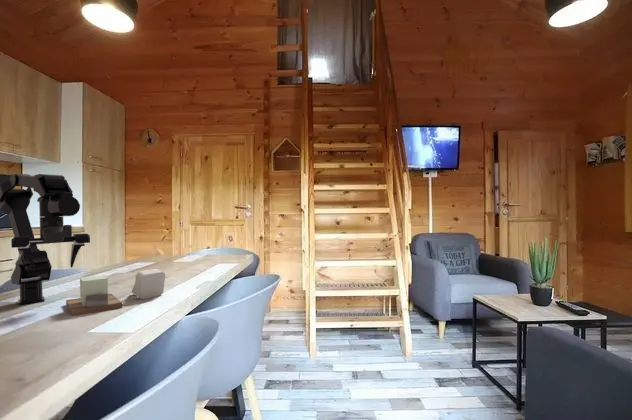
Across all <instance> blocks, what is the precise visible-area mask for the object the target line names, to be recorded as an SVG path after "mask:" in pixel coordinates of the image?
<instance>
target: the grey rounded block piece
mask: <svg viewBox="0 0 632 420" xmlns="http://www.w3.org/2000/svg"><path fill="white" fill-rule="evenodd" d="M165 281H166V273H165V272H164V271H162V270H161V269H159V268H153V269H147V270H145V269H143V270H140V271H138V272H137V273H136V274H135V280H134V284H133V287H132V289H131V292H132V294H133V295H135V296H136V297H138V298H139V299H141V300H146V299H151V298H154V297H159V295H160V296H161V295H162V294H163V293H164V290H165V289H164V288H165ZM145 298H146V299H145Z"/></svg>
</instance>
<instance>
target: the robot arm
mask: <svg viewBox="0 0 632 420" xmlns="http://www.w3.org/2000/svg"><path fill="white" fill-rule="evenodd" d="M16 187H21V188H16ZM22 187H23V188H22ZM25 188H26V189H25ZM33 191H34V192H36V193H38V195H39V197H38V198H37V200H36V202H37V203H39V205H38V207H39V237H36V238H35V235H34V232H33V229H32V224H31V221H30V219H29V215H28V212H27V210H28V207H29V206H30V203H31V198H32V197H33V196H34V193H33ZM80 209H81V204H80V202H79V200H78V199H77V198H76V197H74V194H73V190H72V188H71V187H70V185H69V183H68V181H67V179H66V177H65V176H64V175H62V174H61V175H59V174H49V173H48V174H44V173H39V174H34V175H32V174H31V175H30V174H26V173H25V174H24V173H14V174H11V175H10V178H9V179H7V180H6V181H4V182H2V183H1V184H0V211H2V212H3V213H5V214H6V215H7V216H8V219H9V221H10V225H11V228H12V229H11V230H12V233H13V238H11V241H10V243H11V248H14V249H15V248H17V251H18V253H19V255H18V257H17V259H16V261H15V267H14V269H13V272H12V274H11V276H10V281H11V284H13V285H18V286H19V299H17V301H18V302H17V303H18V305H24V304H32V303H39V302H45V297H44V296H43V294H44V293H43V281H49V280H50V278H51V272H52V267H53V266H52V263H51V262H50V259H49V256H48V252H47V251H46V250H40V249H39V248H38V245H43V244H58V243H59V244H60V243H61V244H62V243H71V249H70V250H71V251H70V260H69V263H70V266H69V267H70V268H73V267H74V264H75V262H76V258H77V255H78V253H79V251H80V249H81V248H82V247H85V246H86V244H88V243H89V244H90V243H91V237H90V235H89V234H88V233H86V232H84V233H73V229H72V228H73V227H72V224H64V217H73V216H75V215H76V214H78V212H79V211H80Z"/></svg>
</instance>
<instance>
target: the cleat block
mask: <svg viewBox="0 0 632 420" xmlns="http://www.w3.org/2000/svg"><path fill="white" fill-rule="evenodd" d="M108 283H109V279H108V277H106V276H105V275H95V276H85V277H80V278H79V290H80V291H79V293H80V296H79V298H81V303H82V305H83V306H86V296H88V295H95V294H102V293H107V294H109V284H108Z"/></svg>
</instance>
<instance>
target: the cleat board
mask: <svg viewBox="0 0 632 420" xmlns="http://www.w3.org/2000/svg"><path fill="white" fill-rule="evenodd" d="M65 302H66V303H65V306H66V308H67V309H68V311H69V312H70V316H72V317H74V316H80V315H86V314H92V313H98V312H104V311H110V310H115V309H116V310H117V309H122V308H123V302H122V301H121V300H119V298H117V297H116V296H114V294H113V293H108V294H107V293H102V294H95V295H88V296H86V306H83V305H82V303H81V298H80V297H77V298H71V299H66V300H65Z"/></svg>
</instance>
